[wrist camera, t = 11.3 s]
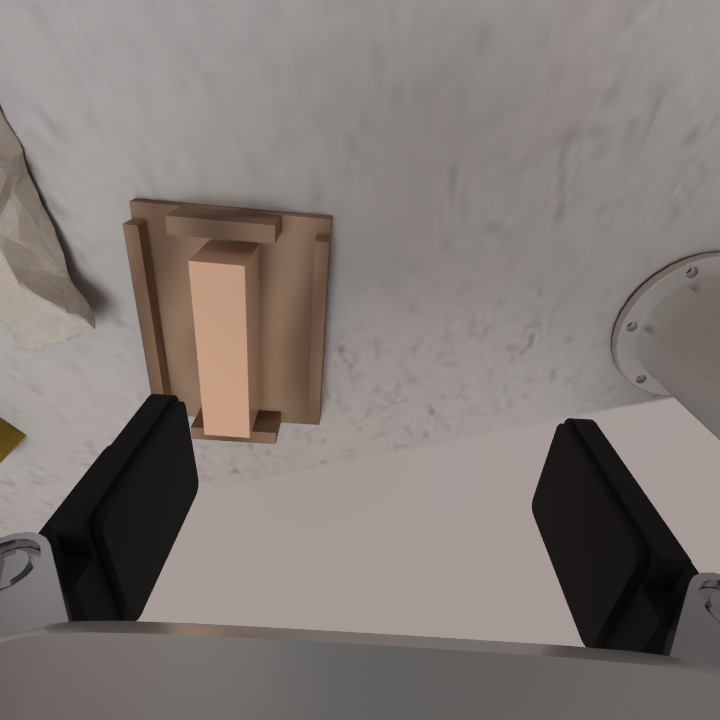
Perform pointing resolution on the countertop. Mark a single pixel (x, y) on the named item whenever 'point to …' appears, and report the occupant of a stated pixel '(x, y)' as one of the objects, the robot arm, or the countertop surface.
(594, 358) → the countertop surface
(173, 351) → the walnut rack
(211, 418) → the clay block
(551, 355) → the countertop surface
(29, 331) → the rock
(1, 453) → the medication box
